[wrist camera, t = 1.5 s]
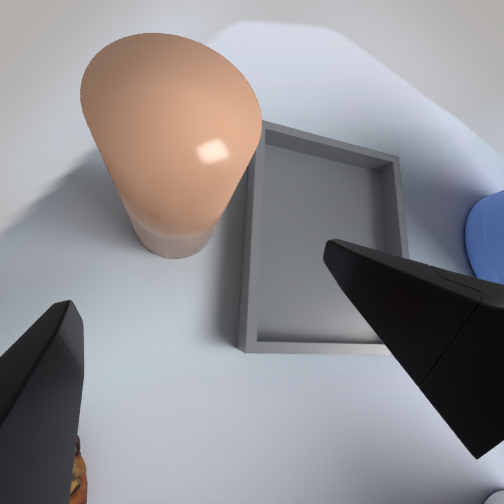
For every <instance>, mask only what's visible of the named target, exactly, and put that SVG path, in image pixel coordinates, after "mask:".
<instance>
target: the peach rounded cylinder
mask: <svg viewBox="0 0 504 504" xmlns="http://www.w3.org/2000/svg"><path fill="white" fill-rule="evenodd" d="M80 91H81V92H80V96H81V97H80V98H81V106H82V111H83V114H84V117H85V119H86V122H87V125H88V127H89V129H90V131H91V133H92V136H93V138H94V140H95V142H96V145H97V147H98V149H99V151H100V154H101V156H102V158H103V160H104V163H105V165H106V167H107V169H108V171H109V174H110V176H111V178H112V180H113V183H114V185H115V187H116V189H117V192H118V194H119V196H120V198H121V201H122V203H123V205H124V207H125V209H126V212H127V214H128V216H129V218H130V221H131V223H132V225H133V227H134V230H135V232H136V234H137V236H138V238H139V240H140V241H141V243H142V244H143V245H144V246H145V247H146V248H147V249H148V250H150V251H151V252H153V253H154V254H156V255H159V256H161V257H164V258H170V259H181V258H186V257H189V256H192V255H194V254H196V253H197V252H199V251H200V250H202V249H203V248H204V247H205V245H206V244H207V243H208V241H209V240H210V238H211V236H212V234H213V232H214V230H215V228H216V226H217V224H218V222H219V220H220V218H221V216H222V214H223V213H224V211H225V209H226V207H227V205H228V203H229V201H230V199H231V197H232V195H233V193H234V191H235V189H236V187H237V185H238V183H239V181H240V179H241V177H242V175H243V174H244V172H245V170H246V168H247V166H248V164H249V162H250V160H251V158H252V156H253V154H254V152H255V150H256V148H257V146H258V143H259V140H260V136H261V129H262V117H261V111H260V107H259V104H258V100H257V98H256V96H255V93H254V91H253V89H252V88H251V86H250V84H249V83H248V81H247V80H246V79H245V77H244V76H243V75H242V74H241V72H240V71H239V70H238V69H237V68H236V67H235V66H234V65H233V64H232V63H230V62H229V61H228V60H227V59H226V58H224V57H223V56H222V55H220V54H219V53H217V52H216V51H214V50H212V49H211V48H209V47H207V46H205V45H203V44H201V43H198V42H196V41H193V40H190V39H187V38H184V37H180V36H176V35H170V34H161V33H144V34H137V35H132V36H128V37H124V38H122V39H119V40H117V41H115V42H113V43H111V44H109V45H108V46H106V47H105V48H103V49H102V50H101V51H100V52H99V53H97V54H96V56H95V57H94V58H93V59H92V60H91V61H90V63H89V65H88V67H87V68H86V70H85V73H84V75H83V78H82V83H81V89H80Z"/></svg>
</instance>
